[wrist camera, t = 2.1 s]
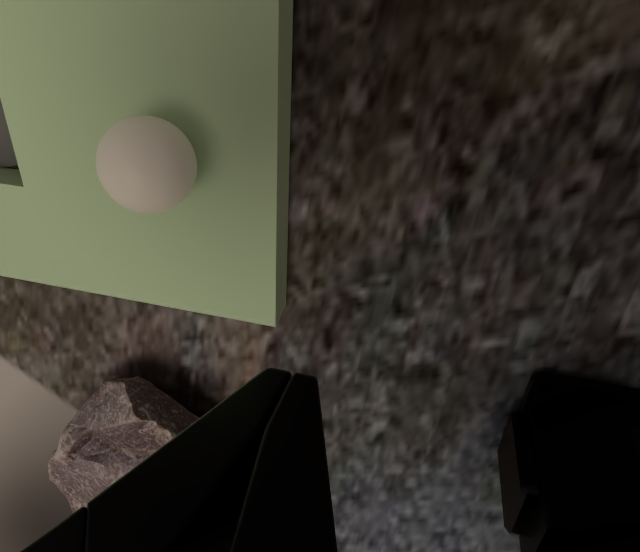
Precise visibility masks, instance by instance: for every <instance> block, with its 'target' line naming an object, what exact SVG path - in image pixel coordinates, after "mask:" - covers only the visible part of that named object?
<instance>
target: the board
mask: <svg viewBox="0 0 640 552" xmlns="http://www.w3.org/2000/svg"><path fill="white" fill-rule="evenodd" d="M292 35H293V0H0V276H6V277H11V278H16V279H22V280H27V281H33V282H38V283H43V284H49V285H54V286H59V287H65V288H70V289H75V290H81V291H86V292H91V293H97V294H102V295H107V296H113V297H118V298H123V299H129V300H134V301H139V302H145V303H150V304H155V305H161V306H166V307H171V308H177V309H182V310H188V311H193V312H198V313H204V314H209V315H214V316H220V317H225V318H230V319H236V320H241V321H246V322H252V323H257V324H262V325H268V326H273V327H276V325H277V323H278V321H279V319H280V317H281V315H282V313H283V311H284V309H285V307H286V291H287V248H288V205H289V163H290V120H291V77H292ZM138 115H149V116H154V117H158V118H161V119H164V120H166V121H168V122H170V123H172V124H173V125H175V126H176V127H177V128H179V129H180V130H181V131H182V132H183V133H184V134H185V136H186V137H187V138H188V140H189V141H190V143H191V145H192V147H193V149H194V152H195V155H196V160H197V176H196V180H195V184H194V186H193V188H192V190H191V192H190V193H189V195H188V196H187V197H186V198H185V199H184V200H183V201H182V202H181V203H180V204H179V205H177V206H176V207H174V208H172V209H170V210H167V211H164V212H160V213H153V214H147V213H139V212H135V211H132V210H129V209H127V208H125V207H123V206H121V205H120V204H118V203H117V202H116V201H115V200H113V199H112V198H111V197H110V196H109V194H108V193H107V192H106V191H105V189H104V188H103V186H102V184H101V182H100V180H99V177H98V175H97V170H96V152H97V148H98V145H99V142H100V140H101V138H102V137H103V135H104V134H105V132H106V131H107V130H108V129H109V128H110V127H111V126H113V125H114V124H115V123H117V122H119V121H120V120H123V119H125V118H128V117H132V116H138ZM15 165H18V167H19V169H12V168H5V167H11V166H15Z"/></svg>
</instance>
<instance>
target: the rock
mask: <svg viewBox="0 0 640 552" xmlns="http://www.w3.org/2000/svg"><path fill="white" fill-rule="evenodd" d="M198 419H199V417H198V416H196V415H194V414H193V413H191V412H189V411H188V410H187V409H186V408H184V407H183V406H182V405H181V404H179V403H178V402H176V401H175V400H174V399H173V398H172V397H170V396H169V395H167V394H165V393H164V392H162V391H161V390H159V389H158V388H156V387H155V386H154V385H153V384H152V383H151V382H149V381H147V380H145V379H143V378H141V377H138V376H136V377H134V378H118V379H109V380H107V381H104V382H103V383H102V385H101V387H100V388H99V389H97V390H96V391H95V392H94V393H93V395H92V396H91V397H90V398H89V399H88V400H87V401H86V402H85V403H84V405H83V406H82V407H81V409H80V410H79V411H78V412H77V414H76V415H75V417H74V418H73V419H72V420H71V422H70V423H69V424H68V425H67V427H66V428H65V430H64V431H63V432H62V434H61V436H60V441H59V445H58V448H57V449H56V450H55V451H54V452H53V453H52V454H51V456H50V458H49V462H48V467H49V470H48V473H49V474H50V476H49V479H50V481H52V482H53V483H55V484H56V485H57V487H58V489H59V490H60V491H61V492H62V493H63V494H64V495H65V496H66V497H67V499H68V500H69V503H70V507H71V509H72V512H73V513H74V512H75V511H77V510H78V509H79V508H81V507H83V506H84V507H86V508H87V504H88V502H89V501H90V500H92V499H93V498H94V497H96V496H97V495H98V494H100V493H101V492H102V491H104V490H105V489H106V488H108V487H109V486H110V485H112V484H113V483H114V482H116V481H117V480H118V479H120V478H121V477H122V476H124V475H125V474H126V473H128V472H129V471H130V470H132V469H133V468H134V467H136V466H137V465H138V464H140V463H141V462H142V461H143V460H145V459H146V458H147V457H149V456H150V455H151V454H153V453H154V452H155V451H157V450H158V449H159V448H161V447H162V446H163V445H165V444H166V443H167V442H169V441H170V440H171V439H173V438H174V437H175V436H177V435H178V434H179V433H181V432H182V431H183V430H185V429H186V428H187V427H189V426H190V425H191V424H193V423H194V422H195V421H197V420H198Z"/></svg>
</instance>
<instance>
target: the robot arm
mask: <svg viewBox="0 0 640 552" xmlns="http://www.w3.org/2000/svg"><path fill="white" fill-rule="evenodd" d="M541 383H548V384H547V385H545V386H541V385H539V384H541ZM498 460H499V472H500V483H501V495H502V506H503V518H504V527H505V528H506V530H507V531H508V533H509V534H512V535H516V536H519V540H520V549H521V552H640V389H636V388H631V387H626V386H620V385H615V384H609V383H604V382H599V381H593V380H588V379H582V378H577V377H572V376H566V375H561V374H555V373H550V372H538V373H536V374H534V375H533V376H532V377H531V379H530V382H529V384H528V387H527V390H526V393H525V395H524V398H523V401H522V404H521V407H520V409H519V411H517V410H516V411H514V412H513V413H511V414H510V417H509V420H508V423H507V426H506V429H505V431H504V434H503V437H502V440H501V443H500V446H499V449H498ZM21 552H337V543H336V535H335V526H334V517H333V509H332V500H331V491H330V483H329V474H328V465H327V457H326V448H325V439H324V431H323V422H322V413H321V405H320V396H319V387H318V380H317V378H316V377H314V376H310V375H305V374H300V373H294V374H291V373H290V372H289V371H285V370H280V369H275V368H266V369H264V370H263V371H262V372H260V373H259V374H258V375H256V376H255V377H254V378H252V379H251V380H250V381H248V382H247V383H246V384H244V385H243V386H242V387H240V388H239V389H238V390H236V391H235V392H234V393H232V394H231V395H230V396H228V397H227V398H226V399H224V400H223V401H222V402H220V403H219V404H218V405H216V406H215V407H214V408H212V409H211V410H210V411H208V412H207V413H206V414H205V415H203V416H202V417H201V418H199V419H198V420H197V421H195V422H194V423H193V424H191V425H190V426H189V427H187V428H186V429H185V430H183V431H182V432H181V433H179V434H178V435H177V436H175V437H174V438H173V439H171V440H170V441H169V442H167V443H166V444H165V445H163V446H162V447H161V448H159V449H158V450H157V451H155V452H154V453H153V454H151V455H150V456H149V457H147V458H146V459H145V460H143V461H142V462H141V463H140V464H138V465H137V466H136V467H134V468H133V469H132V470H130V471H129V472H128V473H126V474H125V475H124V476H122V477H121V478H120V479H118V480H117V481H116V482H114V483H113V484H112V485H110V486H109V487H108V488H106V489H105V490H104V491H102V492H101V493H100V494H98V495H97V496H96V497H94V498H93V499H92V500H90V501H89V502H88V504H87V508H86V507H84V506H83V507H81V508H79V509H78V510H77V511H75V512H74V513H73V514H72V515H70V516H69V517H68V518H66V519H65V520H64V521H62V522H61V523H60V524H58V525H57V526H56V527H54V528H53V529H52V530H50V531H49V532H47V533H46V534H44V535H43V536H42V537H40V538H39V539H38V540H36V541H35V542H33V543H32V544H31V545H29V546H28V547H26V548H25V549H24V550H22V551H21Z"/></svg>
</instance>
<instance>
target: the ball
mask: <svg viewBox="0 0 640 552" xmlns="http://www.w3.org/2000/svg"><path fill="white" fill-rule="evenodd" d="M96 170H97V175H98V177H99V180H100V182H101V184H102V186H103V188H104V189H105V191H106V192H107V193H108V194H109V196H110V197H111V198H112V199H113V200H115V201H116V202H117V203H118V204H120V205H121V206H123V207H125V208H127V209H129V210H132V211H135V212H139V213H147V214H153V213H160V212H164V211H167V210H170V209H172V208H174V207H176V206H177V205H179V204H180V203H181V202H182V201H183V200H184V199H185V198H186V197H187V196H188V195H189V193H190V192H191V190H192V188H193V186H194V184H195V180H196V176H197V160H196V155H195V152H194V149H193V147H192V145H191V143H190V141H189V140H188V138H187V137H186V136H185V134H184V133H183V132H182V131H181V130H180V129H179V128H177V127H176V126H175V125H173V124H172V123H170V122H168V121H166V120H164V119H161V118H158V117H154V116H149V115H138V116H132V117H128V118H125V119H123V120H120V121H119V122H117V123H115V124H114V125H113V126H111V127H110V128H109V129H108V130H107V131H106V132H105V134H104V135H103V137H102V138H101V140H100V142H99V145H98V148H97V152H96Z"/></svg>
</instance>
